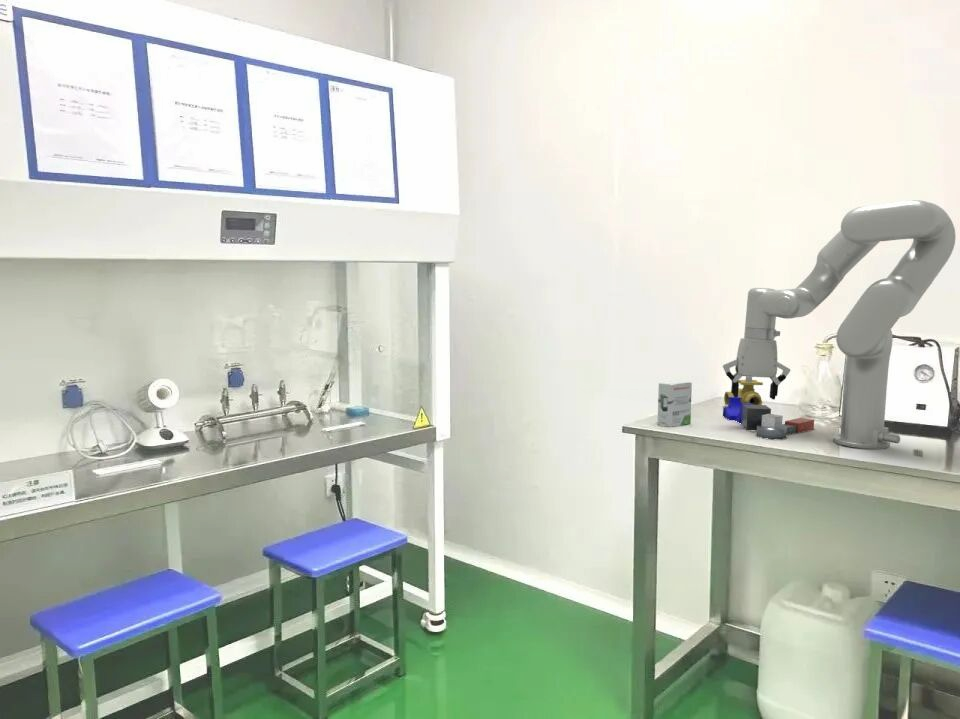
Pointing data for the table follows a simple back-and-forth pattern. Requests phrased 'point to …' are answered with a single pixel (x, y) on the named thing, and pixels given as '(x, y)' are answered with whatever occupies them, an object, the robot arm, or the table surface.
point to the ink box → (674, 403)
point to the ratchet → (782, 426)
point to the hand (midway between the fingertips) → (753, 397)
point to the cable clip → (734, 409)
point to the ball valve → (746, 392)
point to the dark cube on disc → (753, 415)
